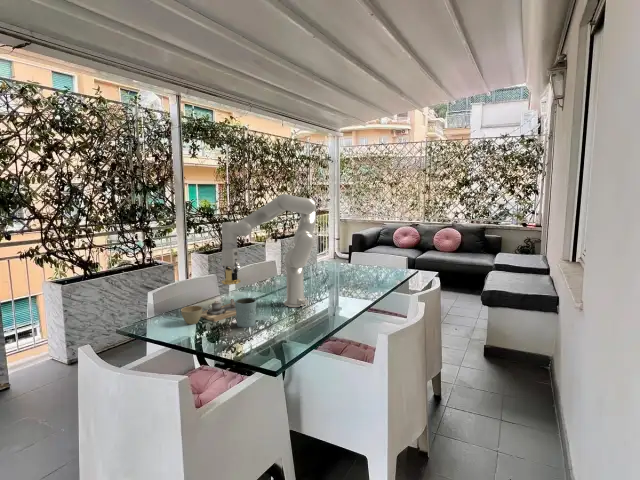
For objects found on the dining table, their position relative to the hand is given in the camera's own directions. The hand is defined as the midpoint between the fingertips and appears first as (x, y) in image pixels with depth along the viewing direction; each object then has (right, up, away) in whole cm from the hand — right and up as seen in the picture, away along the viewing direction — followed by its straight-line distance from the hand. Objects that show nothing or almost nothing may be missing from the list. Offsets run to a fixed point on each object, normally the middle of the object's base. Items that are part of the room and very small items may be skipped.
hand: (231, 278), depth 203 cm
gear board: (-2, -18, -1) cm, 18 cm away
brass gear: (0, -2, 0) cm, 2 cm away
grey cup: (+12, -20, -19) cm, 30 cm away
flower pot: (-15, -20, -16) cm, 30 cm away
